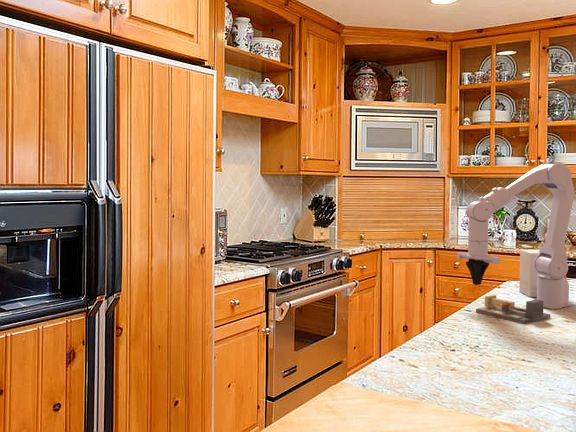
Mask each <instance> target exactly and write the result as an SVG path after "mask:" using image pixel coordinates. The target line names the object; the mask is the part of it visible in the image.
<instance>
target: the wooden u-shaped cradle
mask: <svg viewBox="0 0 576 432" xmlns="http://www.w3.org/2000/svg"><path fill="white" fill-rule="evenodd" d="M504 301H507V305H509V309H513V308H514V307H516V306H515V301H512V300H507V299H503V298H502V299H501V298H497V294H490V295H484V307H489V306H494V305H495V306H500V308H502V302H504Z"/></svg>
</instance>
